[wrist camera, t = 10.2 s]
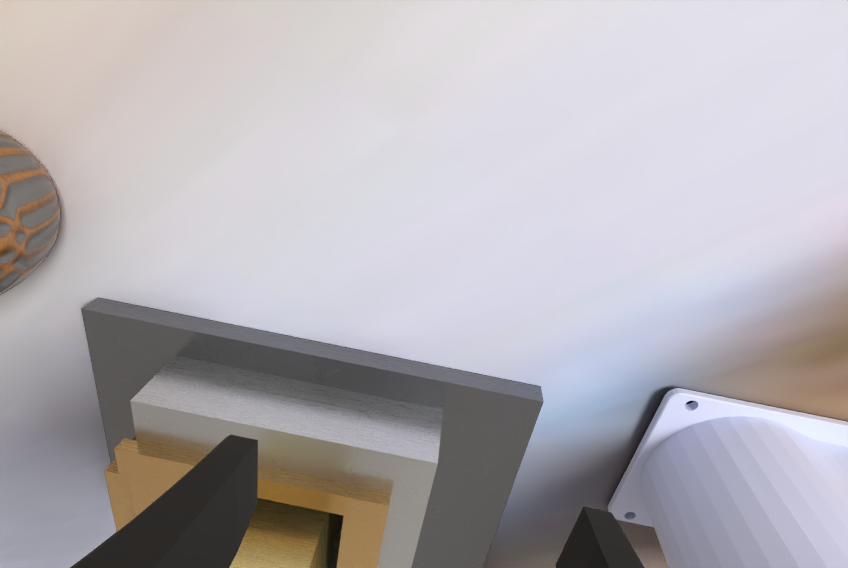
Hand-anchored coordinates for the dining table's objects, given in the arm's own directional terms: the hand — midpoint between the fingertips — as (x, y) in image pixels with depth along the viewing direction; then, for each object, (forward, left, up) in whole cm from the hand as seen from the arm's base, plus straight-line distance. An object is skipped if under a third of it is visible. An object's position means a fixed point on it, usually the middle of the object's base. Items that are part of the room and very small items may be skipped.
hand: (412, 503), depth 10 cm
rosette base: (+5, +11, -10) cm, 16 cm away
